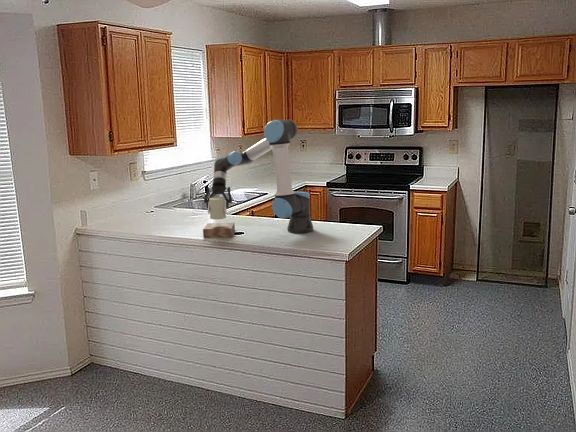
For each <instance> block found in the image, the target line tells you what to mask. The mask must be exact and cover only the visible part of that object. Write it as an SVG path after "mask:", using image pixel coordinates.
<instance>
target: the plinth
mask: <svg viewBox="0 0 576 432" xmlns="http://www.w3.org/2000/svg"><path fill="white" fill-rule="evenodd" d="M235 227H236V226H235V222H208V223H206V225H205V226H204V227H203V228H202V234H203V235H202V236H203V239H210V238H212V239H213V238H215V239H216V238H219V239H220V238H232V237H233V235H234V234H233V233H235V231H236V228H235Z"/></svg>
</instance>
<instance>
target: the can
mask: <svg viewBox="0 0 576 432" xmlns="http://www.w3.org/2000/svg"><path fill="white" fill-rule="evenodd" d="M208 198H209V197H208ZM209 202H210V214H209V219H211V220H224V219H226V218H227V215H226V214H227V212H226V213H225V212H224V208H225V197H223V196H214V197H212V198H209Z"/></svg>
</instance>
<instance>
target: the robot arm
mask: <svg viewBox="0 0 576 432" xmlns="http://www.w3.org/2000/svg"><path fill="white" fill-rule="evenodd" d="M298 129H299V128H298V125H297V124H296V122H295V121H293V120H292V119H287V118H286V119H274V120H270V121H269V122H267V124H266V125H265V126H264V129H263V136H264V138H263V139H261V140H260V141H258V142H257V143H255V144H253V145H252V146H250V147H249V148H247V149H246V150H244V151H243V152H239V151H236V150H234V151H232V152H229V154H228V155H226V156H225V157H223V156H220V157H216V158H215V160H214V161H215V162H214V165H213V166H214V169H213V179H212V186H211V187H208V186H207V187H206V192H205V196H204V198H203V202H204V204H206V209H207V214H208V215H210V202H209V198H212V197H216V195H221V196H222V197H225V208H224V212H225V213H226V214H227V209H228V208H229V206H230V205H229V204H231V203H233V200H232V195H231V189H232V188H231V187H230V186H228V187H227V186H226V185H227V172H228V171H230V170H231V169H232V168H234V167H238V166H245V165H250V164H253V163H254V162H255V160H256V159H259V157H262V156H263V155H265V154H266V153H268V152H269V151H272V157H273V165H274V166H273V167H274V175H275V184H276V192H275V194H274V199H273V201H272V204H271V209H272V212H273V213H274V215H275V216H276V217H278V218H280V219H288V218H289V220H288V224H287V232H289V233H292V234H306V233H312V232H313V231H314V224H313V222H312V219H311V197H310V193H309V192H307V191H295V190H293V185H292V183H293V182H292V176H291V174H292V173H291V163H290V156H289V155H290V154H289V146H290V145H291V140H294V139H295V138H296V137H297V135H298V131H299V130H298ZM226 191H227V194H228V197H227V195H226V193H225V192H226ZM211 192H212V193H211ZM210 193H211V194H210ZM228 198H229V199H228Z"/></svg>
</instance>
